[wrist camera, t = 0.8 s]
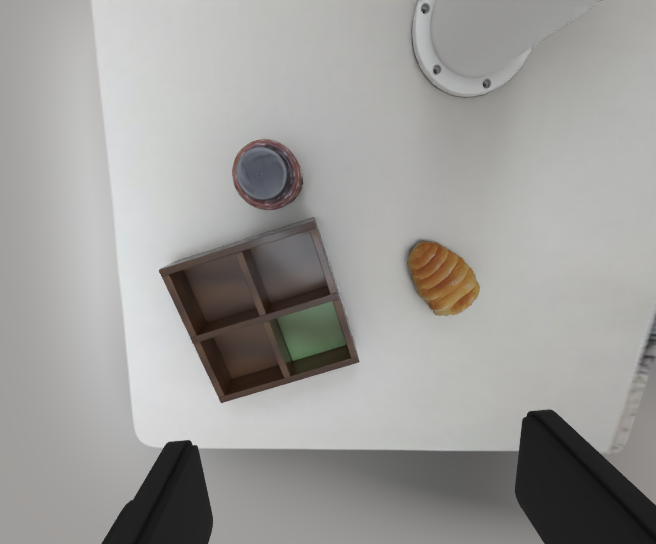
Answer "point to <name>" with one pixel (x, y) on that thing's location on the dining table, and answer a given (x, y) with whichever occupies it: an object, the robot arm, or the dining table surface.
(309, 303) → the grid
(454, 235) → the dining table surface
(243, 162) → the supplement bottle
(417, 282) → the pastry
